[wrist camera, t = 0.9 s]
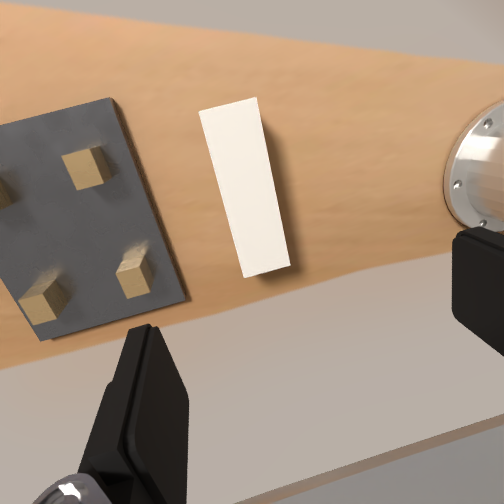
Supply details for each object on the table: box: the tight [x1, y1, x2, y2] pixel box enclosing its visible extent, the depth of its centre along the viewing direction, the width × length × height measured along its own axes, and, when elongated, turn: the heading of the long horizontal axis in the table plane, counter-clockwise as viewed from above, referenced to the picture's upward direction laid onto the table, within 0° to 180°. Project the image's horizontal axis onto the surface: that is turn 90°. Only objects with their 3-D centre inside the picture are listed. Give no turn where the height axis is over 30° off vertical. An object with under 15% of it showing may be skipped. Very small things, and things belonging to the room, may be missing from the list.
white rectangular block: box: [199, 97, 290, 278], centre depth 27 cm, size 4×13×5 cm, turn 13°
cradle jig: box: [0, 98, 186, 342], centre depth 27 cm, size 14×18×4 cm
